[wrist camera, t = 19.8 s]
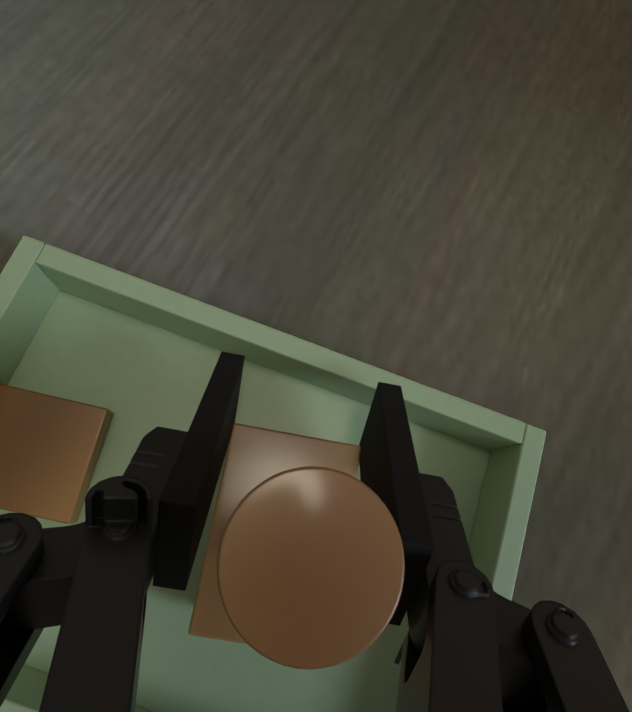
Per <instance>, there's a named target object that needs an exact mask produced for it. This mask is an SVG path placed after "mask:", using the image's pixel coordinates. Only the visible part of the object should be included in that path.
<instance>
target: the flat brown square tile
mask: <svg viewBox="0 0 632 712" xmlns="http://www.w3.org/2000/svg"><path fill="white" fill-rule="evenodd" d="M112 417H113V412H112V411H110V410H109V409H107V408H103V407H99V406H94V405H90V404H86V403H81V402H77V401H73V400H68V399H64V398H60V397H56V396H51V395H47V394H43V393H38V392H34V391H30V390H25V389H21V388H17V387H13V386H8V385H4V384H0V509H2V510H6V511H11V512H15V513H25V514H27V515H30V516H33V517H38V518H43V519H47V520H52V521H56V522H61V523H65V524H71V523H76V522H77V520H78V517H79V514H80V511H81V508H82V505H83V502H84V499H85V497H86V494H87V491H88V488H89V485H90V482H91V479H92V476H93V473H94V470H95V467H96V464H97V461H98V458H99V455H100V452H101V449H102V446H103V443H104V440H105V437H106V435H107V432H108V429H109V426H110V423H111V420H112Z"/></svg>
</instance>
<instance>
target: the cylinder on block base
mask: <svg viewBox="0 0 632 712" xmlns="http://www.w3.org/2000/svg"><path fill="white" fill-rule="evenodd" d="M360 451H361V447H360V446H359V445H353V444H348V443H342V442H337V441H331V440H326V439H320V438H315V437H309V436H304V435H298V434H293V433H287V432H282V431H276V430H271V429H265V428H260V427H254V426H249V425H243V424H238V423H234V424H233V428H232V433H231V437H230V441H229V444H228V448H227V452H226V457H225V462H224V466H223V471H222V476H221V480H220V485H219V490H218V494H217V499H216V504H215V508H214V513H213V518H212V522H211V527H210V532H209V536H208V541H207V546H206V550H205V555H204V560H203V564H202V569H201V574H200V578H199V583H198V588H197V592H196V597H195V601H194V606H193V611H192V615H191V620H190V625H189V629H188V634H189V635H192V636H198V637H205V638H211V639H218V640H224V641H231V642H237V643H244V644H248V645H249V646H250V647H251V648H253V649H254V650H255V651H257V652H258V653H259V654H260V655H262V656H264V657H266V658H267V659H269V660H271V661H273V662H275V663H278V664H281V665H283V666H287V667H291V668H296V669H307V670H312V669H323V668H328V667H332V666H336V665H339V664H341V663H344V662H346V661H348V660H350V659H352V658H354V657H356V656H357V655H359V654H360V653H362V652H363V651H364V650H366V649H367V648H368V647H370V646H371V645H372V644H373V643H374V642H375V641H376V640H377V639H378V638H379V636H380V635H381V634H382V632H383V631H384V630H385V628H386V627H387V625H388V624H389V622H390V620H391V619H392V617H393V615H394V613H395V610H396V608H397V606H398V603H399V600H400V596H401V593H402V589H403V582H404V572H405V560H404V550H403V545H402V540H401V536H400V533H399V530H398V527H397V525H396V523H395V521H394V519H393V516H392V515H391V513H390V511H389V510H388V508H387V507H386V505H385V504H384V503H383V501H382V500H381V499H380V498H379V496H378V495H377V494H376V493H375V492H374V491H373V490H372V489H371V488H369V487H368V486H367V485H365V484H364V483H363V482H361V481H360V480H358V479H357V475H358V468H359V458H360Z"/></svg>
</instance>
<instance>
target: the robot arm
mask: <svg viewBox="0 0 632 712" xmlns="http://www.w3.org/2000/svg"><path fill="white" fill-rule="evenodd" d="M244 360H245V356H243V355H238V354H233V353H228V352H223V351H222V352H221V354H220V356H219V359H218V361H217V364H216V366H215V368H214V371H213V373H212V375H211V378H210V380H209V383H208V385H207V387H206V390H205V392H204V394H203V397H202V399H201V402H200V404H199V406H198V409H197V411H196V414H195V416H194V418H193V421H192V423H191V425H190V428H189V430H188V432H186V431H181V430H175V429H170V428H164V427H159V426H157V427H156V428H155V429H153V430H152V431H150V432H149V433H148V434H146V435H145V436H144V437H143V439H142V440H141V442H140V444H139V446H138V448H137V450H136V453H134V455H133V457H132V459H131V461H130V464H129V465H128V466H127V468H126V470H125V472H124V474H123V476H115V477H110V478H107V479H104V480H102V481H99V482H98V483H97V484H95V485H94V486H93V487H92V488H90V490H89V492H88V493H87V495H86V497H85V522H82V523H79V524H75V525H70V526H62V527H52V528H42V524H41V523H40V522H39V521H38V520H37V519H36V518H35V517H33V516H30V515H27V514H25V513H7V514H2V515H0V707H1V705H2V703H3V702H4V700H5V698H6V696H7V694H8V693H9V691H10V689H11V687H12V685H13V684H14V682H15V680H16V678H17V676H18V674H19V673H20V671H21V669H22V667H23V665H24V664H25V662H26V660H27V658H28V656H29V655H30V653H31V651H32V649H33V647H34V646H35V644H36V642H37V640H38V638H39V637H40V635H41V633H42V631H43V629H44V628H46V627H53V626H59V625H61V626H60V630H59V634H58V638H57V642H56V646H55V650H54V654H53V657H52V661H51V665H50V669H49V673H48V677H47V681H46V685H45V689H44V693H43V697H42V701H41V705H40V709H39V712H135V706H136V696H137V687H138V678H139V668H140V659H141V649H142V640H143V631H144V621H145V612H146V602H147V591H148V588H149V585H150V583H151V580H152V577H153V586H157V587H163V588H169V589H176V590H182V591H185V590H186V587H187V584H188V580H189V577H190V573H191V570H192V567H193V563H194V560H195V556H196V553H197V550H198V546H199V543H200V539H201V536H202V533H203V529H204V526H205V522H206V519H207V516H208V512H209V509H210V505H211V502H212V499H213V495H214V492H215V488H216V485H217V482H218V478H219V475H220V471H221V468H222V465H223V461H224V458H225V454H226V451H227V448H228V444H229V441H230V437H231V433H232V428H233V424H234V423H235V418H236V411H237V405H238V398H239V392H240V385H241V379H242V373H243V366H244ZM359 446H360V447H361V451H360V458H359V464H360V480H361V482H363V483H364V484H365V485H367V486H368V487H369V488H371V489H372V490H373V491H374V492H375V493H376V494H377V495H378V496H379V498H380V499H381V500H382V501H383V503H384V504H385V505H386V507H387V508H388V510H389V511H390V513H391V515H392V516H393V519H394V521H395V523H396V525H397V527H398V530H399V533H400V536H401V540H402V545H403V550H404V560H405V572H404V582H403V589H402V593H401V596H400V600H399V603H398V606H397V608H396V610H395V613H394V615H393V617H392V619H391V620H390V622H389V624H392V625H398V626H400V625H401V622H402V620H403V618H404V616H405V614H406V611H407V618H408V625H409V630H408V632H407V634H406V637H405V639H404V641H403V643H402V645H401V647H400V649H399V651H398V654H397V656H396V659H395V662H394V663H395V664H398V665H399V663H400V661H401V667H400V676H399V685H398V695H397V704H396V712H629V710H628V708H627V706H626V703H625V701H624V699H623V697H622V695H621V693H620V691H619V689H618V687H617V685H616V683H615V681H614V678H613V676H612V674H611V672H610V670H609V668H608V666H607V664H606V662H605V660H604V658H603V656H602V653H601V651H600V649H599V647H598V645H597V643H596V641H595V639H594V637H593V635H592V633H591V631H590V630H589V628H588V627H587V625H586V623H585V622H584V621H583V620H582V619H581V618H580V617H579V616H578V615H577V614H576V613H575V612H574V611H572V610H571V609H569V608H567V607H566V606H564V605H563V604H560V603H557V602H554V601H540V602H538V603H537V604H535V605H534V606H533V607H532V609H531V610H530V609H528V608H526V607H524V606H521V605H519V604H517V603H515V602H513V601H511V600H508V599H506V598H504V597H503V596H501V595H499V594H497V593H496V592H495V591H493V587H492V584H491V583H490V581H489V580H488V578H487V577H486V576H485V574H483V573H482V572H481V571H480V570H479V569H478V568H476V567H475V566H474V563H473V559H472V556H471V552H470V549H469V545H468V542H467V538H466V535H465V531H464V528H463V524H462V521H460V520H461V517H460V514H459V510H458V509H457V503H456V500H455V496H454V493H453V491H452V489H451V488H450V487H449V485H448V484H447V483H446V481H445V480H444V479H443V477H439V476H434V475H428V474H423V473H419V469H418V464H417V459H416V455H415V450H414V445H413V440H412V436H411V431H410V426H409V422H408V417H407V412H406V407H405V403H404V398H403V393H402V389H401V386H398V385H393V384H388V383H383V382H378V385H377V388H376V391H375V394H374V398H373V401H372V404H371V407H370V411H369V414H368V417H367V420H366V424H365V427H364V430H363V433H362V437H361V440H360V443H359Z"/></svg>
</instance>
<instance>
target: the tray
mask: <svg viewBox="0 0 632 712" xmlns="http://www.w3.org/2000/svg"><path fill="white" fill-rule="evenodd" d="M222 351H223V352H228V353H233V354H238V355H243V356H245V360H244V366H243V373H242V379H241V385H240V392H239V398H238V405H237V411H236V418H235V423H238V424H243V425H249V426H254V427H260V428H265V429H271V430H276V431H282V432H287V433H293V434H298V435H304V436H309V437H315V438H320V439H326V440H331V441H337V442H342V443H348V444H353V445H359V443H360V440H361V437H362V433H363V430H364V427H365V424H366V420H367V417H368V414H369V411H370V407H371V404H372V401H373V398H374V394H375V391H376V388H377V385H378V382H383V383H388V384H393V385H398V386H401V389H402V393H403V398H404V403H405V407H406V412H407V417H408V422H409V426H410V431H411V436H412V440H413V445H414V450H415V455H416V459H417V464H418V469H419V473H423V474H428V475H434V476H439V477H443V479H444V480H445V481H446V483H447V484H448V485H449V487H450V488H451V489H452V491H453V493H454V496H455V500H456V503H457V509H458V510H459V514H460V517H461V520H460V521H462V524H463V528H464V531H465V535H466V538H467V542H468V545H469V549H470V552H471V556H472V559H473V563H474V566H475V567H476V568H478V569H479V570H480V571H481V572H482V573H483V574H485V576H486V577H487V578H488V580H489V581H490V583H491V584H492V587H493V591H495V592H496V593H497V594H499V595H501V596H503V597H504V598H506V599H508V600H511V601H512V596H513V591H514V586H515V581H516V576H517V572H518V567H519V562H520V557H521V552H522V548H523V543H524V538H525V533H526V528H527V524H528V519H529V514H530V509H531V504H532V500H533V495H534V490H535V485H536V480H537V476H538V471H539V466H540V461H541V456H542V452H543V447H544V442H545V437H546V431H545V430H543V429H540V428H537V427H535V426H532V425H529V424H526V423H524V422H522V421H519V420H517V419H514V418H511V417H508V416H506V415H503V414H500V413H498V412H495V411H492V410H490V409H487V408H484V407H482V406H479V405H476V404H474V403H471V402H468V401H466V400H463V399H460V398H458V397H455V396H452V395H450V394H447V393H444V392H442V391H439V390H436V389H434V388H431V387H428V386H426V385H423V384H420V383H418V382H415V381H412V380H410V379H407V378H404V377H402V376H399V375H396V374H394V373H391V372H388V371H386V370H383V369H380V368H378V367H375V366H372V365H370V364H367V363H364V362H362V361H359V360H356V359H353V358H351V357H348V356H345V355H343V354H340V353H337V352H335V351H332V350H329V349H327V348H324V347H321V346H319V345H316V344H313V343H311V342H308V341H305V340H303V339H300V338H297V337H295V336H292V335H289V334H287V333H284V332H281V331H279V330H276V329H273V328H271V327H268V326H265V325H263V324H260V323H257V322H255V321H252V320H249V319H247V318H244V317H241V316H239V315H236V314H233V313H231V312H228V311H225V310H223V309H220V308H217V307H215V306H212V305H209V304H207V303H204V302H201V301H198V300H196V299H193V298H190V297H188V296H185V295H182V294H180V293H177V292H174V291H172V290H169V289H166V288H164V287H161V286H158V285H156V284H153V283H150V282H148V281H145V280H142V279H140V278H137V277H134V276H132V275H129V274H126V273H124V272H121V271H118V270H116V269H113V268H110V267H108V266H105V265H102V264H100V263H97V262H94V261H92V260H89V259H86V258H84V257H81V256H78V255H76V254H73V253H70V252H68V251H65V250H62V249H60V248H57V247H54V246H52V245H49V244H45V243H44V242H41V241H39V240H36V239H33V238H31V237H28V236H25V235H24V236H23V237H22V239H21V241H20V242H19V244H18V245H17V247H16V249H15V250H14V252H13V254H12V255H11V257H10V259H9V260H8V262H7V264H6V265H5V267H4V269H3V270H2V272H1V274H0V384H4V385H8V386H13V387H17V388H21V389H25V390H30V391H34V392H38V393H43V394H47V395H51V396H56V397H60V398H64V399H68V400H73V401H77V402H81V403H86V404H90V405H94V406H99V407H103V408H107V409H109V410H110V411H112V412H113V417H112V420H111V423H110V426H109V429H108V432H107V435H106V437H105V440H104V443H103V446H102V449H101V452H100V455H99V458H98V461H97V464H96V467H95V470H94V473H93V476H92V479H91V482H90V485H89V488H88V491H87V493H88V492H89V490H90V488H92V487H93V486H94V485H95V484H97V483H98V482H99V481H102V480H104V479H107V478H110V477H115V476H123V474H124V472H125V470H126V468H127V466H128V465H129V464H130V461H131V459H132V457H133V455H134V453H136V450H137V448H138V446H139V444H140V442H141V440H142V439H143V437H144V436H145V435H146V434H148V433H149V432H150V431H152V430H153V429H155V428H156V427H157V426H159V427H164V428H170V429H175V430H181V431H186V432H188V430H189V428H190V425H191V423H192V421H193V418H194V416H195V414H196V411H197V409H198V406H199V404H200V402H201V399H202V397H203V394H204V392H205V390H206V387H207V385H208V383H209V380H210V378H211V375H212V373H213V371H214V368H215V366H216V364H217V361H218V359H219V356H220V354H221V352H222ZM226 452H227V451H226ZM225 457H226V454H225ZM224 462H225V458H224V461H223V465H222V468H221V471H220V475H219V478H218V482H217V485H216V488H215V492H214V495H213V499H212V502H211V505H210V509H209V512H208V516H207V519H206V522H205V526H204V529H203V533H202V536H201V539H200V543H199V546H198V550H197V553H196V556H195V560H194V563H193V567H192V570H191V573H190V577H189V580H188V584H187V587H186V590H185V591H182V590H176V589H169V588H163V587H157V586H153V577H152V580H151V583H150V585H149V588H148V591H147V602H146V612H145V621H144V631H143V640H142V649H141V659H140V668H139V678H138V687H137V696H136V706H135V712H396V704H397V695H398V685H399V676H400V667H401V661H400V663H399V665H398V664H395V663H394V662H395V659H396V656H397V654H398V651H399V649H400V647H401V645H402V643H403V641H404V639H405V637H406V634H407V632H408V630H409V625H408V618H407V611H406V614H405V616H404V618H403V620H402V622H401V625H400V626H398V625H392V624H388V625H387V627H386V628H385V630H384V631H383V632H382V634H381V635H380V636H379V638H378V639H377V640H376V641H375V642H374V643H373V644H372V645H371V646H370V647H368V648H367V649H366V650H364V651H363V652H362V653H360V654H359V655H357V656H356V657H354V658H352V659H350V660H348V661H346V662H344V663H341V664H339V665H336V666H332V667H328V668H323V669H312V670H307V669H296V668H291V667H287V666H283V665H281V664H278V663H275V662H273V661H271V660H269V659H267V658H266V657H264V656H262V655H260V654H259V653H258V652H257V651H255V650H254V649H253V648H251V647H250V646H249V645H248V644H244V643H237V642H231V641H224V640H218V639H211V638H205V637H198V636H192V635H189V634H188V629H189V625H190V620H191V615H192V611H193V606H194V601H195V597H196V592H197V588H198V583H199V578H200V574H201V569H202V564H203V560H204V555H205V550H206V546H207V541H208V536H209V532H210V527H211V522H212V518H213V513H214V508H215V504H216V499H217V494H218V490H219V485H220V480H221V476H222V471H223V466H224ZM357 479H358V480H360V464H359V468H358V475H357ZM360 481H361V480H360ZM86 495H87V494H86ZM7 513H15V512H11V511H6V510H2V509H0V515H2V514H7ZM35 518H36V519H37V520H38V521H39V522H40V523H41V524H42V528H52V527H62V526H70V525H75V524H79V523H82V522H85V499H84V502H83V505H82V508H81V511H80V514H79V517H78V520H77V522H76V523H71V524H65V523H61V522H56V521H52V520H47V519H43V518H38V517H35ZM60 626H61V625H59V626H53V627H46V628H44V629H43V631H42V633H41V635H40V637H39V638H38V640H37V642H36V644H35V646H34V647H33V649H32V651H31V653H30V655H29V656H28V658H27V660H26V662H25V664H24V665H23V667H22V669H21V671H20V673H19V674H18V676H17V678H16V680H15V682H14V684H13V685H12V687H11V689H10V691H9V693H8V694H7V696H6V698H5V700H4V702H3V703H2V705H1V707H0V712H39V709H40V705H41V701H42V697H43V693H44V689H45V685H46V681H47V677H48V673H49V669H50V665H51V661H52V657H53V654H54V650H55V646H56V642H57V638H58V634H59V630H60Z"/></svg>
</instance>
